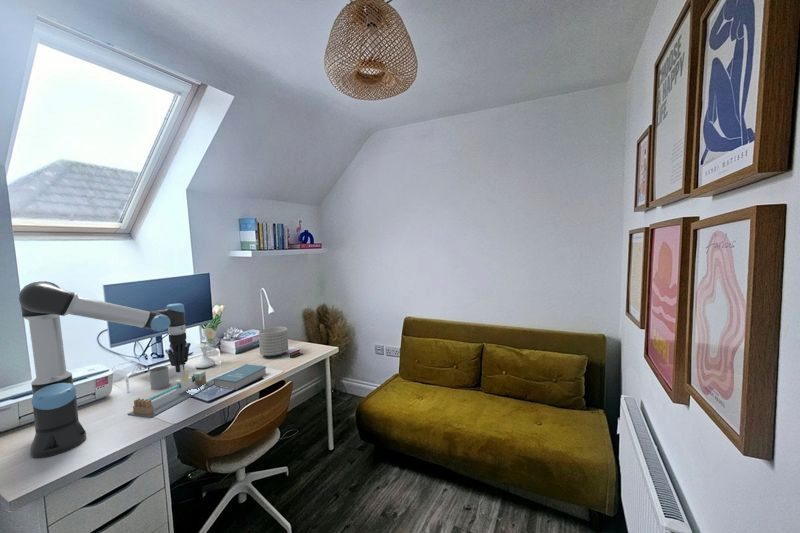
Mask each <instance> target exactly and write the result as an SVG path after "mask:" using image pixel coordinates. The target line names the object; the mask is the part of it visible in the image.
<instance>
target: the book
mask: <svg viewBox="0 0 800 533" xmlns="http://www.w3.org/2000/svg"><path fill="white" fill-rule="evenodd" d="M266 368H267V366H266V365H255V364H248V363H246V364H244V365H242V366H240V367H237V368H235V369H233V370H230V371H228V372H226V373H223V374H222V375H220V376H217V377H216V378H214V379H213V383H214V385H215V386H223V387H228V388H234V389H235V390H239V389H241V388H242V387H245V386H246V385H248V384H250V383H252V382H254V381H255V380H259V378H262V377H263V376H265V375H267V374H268V373H266ZM214 385H213V386H214ZM215 386H214V387H215ZM228 388H227V389H228ZM234 389H233V390H234ZM235 390H234V391H235Z"/></svg>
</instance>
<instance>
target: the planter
mask: <svg viewBox="0 0 800 533" xmlns="http://www.w3.org/2000/svg"><path fill="white" fill-rule="evenodd" d="M288 332H289V331H288V328H287V327H286V326H272V327H266V328H263V329H260V330H258V344H259V354H260V355H262V356H265V357H269V358H274V357H279V356H281V355H282V354H284V353H286V352H288V351H289V339H288V338H289V336H288V334H289V333H288Z"/></svg>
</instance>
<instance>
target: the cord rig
mask: <svg viewBox="0 0 800 533" xmlns="http://www.w3.org/2000/svg"><path fill="white" fill-rule="evenodd" d="M190 377H192V383H193V385H192V386H190V387H188V388H186V389H184V390H176V388H178V387H180V386H181V383H180V384H178V385H176V386H175V385H174V386H173V387H169V388H168V389H166V390H164V391H162V392H159V393H157V394H155V395H153V396H151V397H149V398H146V399H144V398H137V399H134V400H133V406H132V410H133V411H130V412H128V413H127V416H133V417H134V416H135V417H142V418H148V419H152V418H154V417H156V416H157V415H159V414H161V413H163V412H165V411H167V410H169V409H171V408H172V407H174V406H177V405H178V404H180V403H182V402H183V401H184V402H185V401H186V400H187V399H189V398H192V397H193V396H192V395H191V394H189V393H187V392H186V391H188V390H191V389H197V390H198V388H199V389H200V387H201V386H202V385H204V384H206V383H207V384H206V385H205V387H204V389H205V388H207V387H208V386H210V385H212V386H214V385H213V384H214V382H212V383H211V382H207V377H206V370H205V371H203V370H199V371H195V372H194V373H192V376H190ZM210 387H211V386H210ZM208 388H209V387H208ZM208 388H207V389H208ZM202 390H203V389H202ZM205 390H206V389H205ZM200 391H201V389H200ZM203 391H204V390H203ZM201 392H202V391H201ZM165 394H166V395H165Z"/></svg>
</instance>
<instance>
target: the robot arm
mask: <svg viewBox="0 0 800 533" xmlns="http://www.w3.org/2000/svg"><path fill="white" fill-rule="evenodd" d="M18 295H19V296H18V302H19V304H20V310H21V316H22V318H24V319H25V320H27V321H28V325H29V332H30V341H31V348H32V354H33V356H32V357H33V363H34V369H35V370H34V372H35V378H34V380H32V381H31V383H30V384H31V392H32V398H31V405H32V410H33V419H34V420H33V422H34V428H35V435H34V437H33V440H32V442H31V443H32V444H31V447H30V450H29V451H30V457H32V458H35V459H39V458H40V459H41V458H48V457H52V456H56V455H58V454H62V453H64V452H65V453H66V452H67V451H69V450H72V449H74V448H75V447H77V446H79V445H81V444H82V443H83V442H85V441H86V439H87V432H86V430H85V428H84V427H83V425H82V423H81V422H80V420H79V410H78V399H77V393H78V391H77V388H76V386H75V384H74V381H73V373H72V372H70V371H67V366H66V358H65V350H64V341H63V332H62V325H61V317H65V316H67V315H72V316H76V317H82V318H89V319H94V320H99V321H103V322H104V321H105V322H110V323H117V324H121V325H126V326H133V327H138V328H140V329H149V330H153V331H154V332H163V331H166V330H167V331H168V332H167V333H168V342H169V348H168V349H165V350H164V351H165V353H166V354H167V356H168V359H169V360H168V361H169V363H170V365H171V367H175V372H176V377H177V379H178V378H183V377H184V369H185V365H186V363H187V362H188V360H189V355H190V353H189V352H190V347H191V342H187V332H186V331H187V330H186V329H187V328H186V311H185V305H184V304H183V303H182V302H181V303H180V302H179V303H169V304H167V305H166V307H165V308H164V309H158V310H151V311H150V310H149V311H148V310H143V309H140V308H134V307H130V306H124V305H122V304H121V305H120V304H116V303H111V302H107V301H103V300H98V299H93V298H88V297H84V296H81V295H78V294H77V293H76V292H74V291H70V290H66V289H64V288H61V287H60V286H59V285H57V284H56V283H54V282H51V281H46V280H45V281H41V280H40V281H34V282H31V283H29V284H27V285H25V286H23V288H22V289H21V290H20V291H19V294H18ZM60 316H61V317H60Z"/></svg>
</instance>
